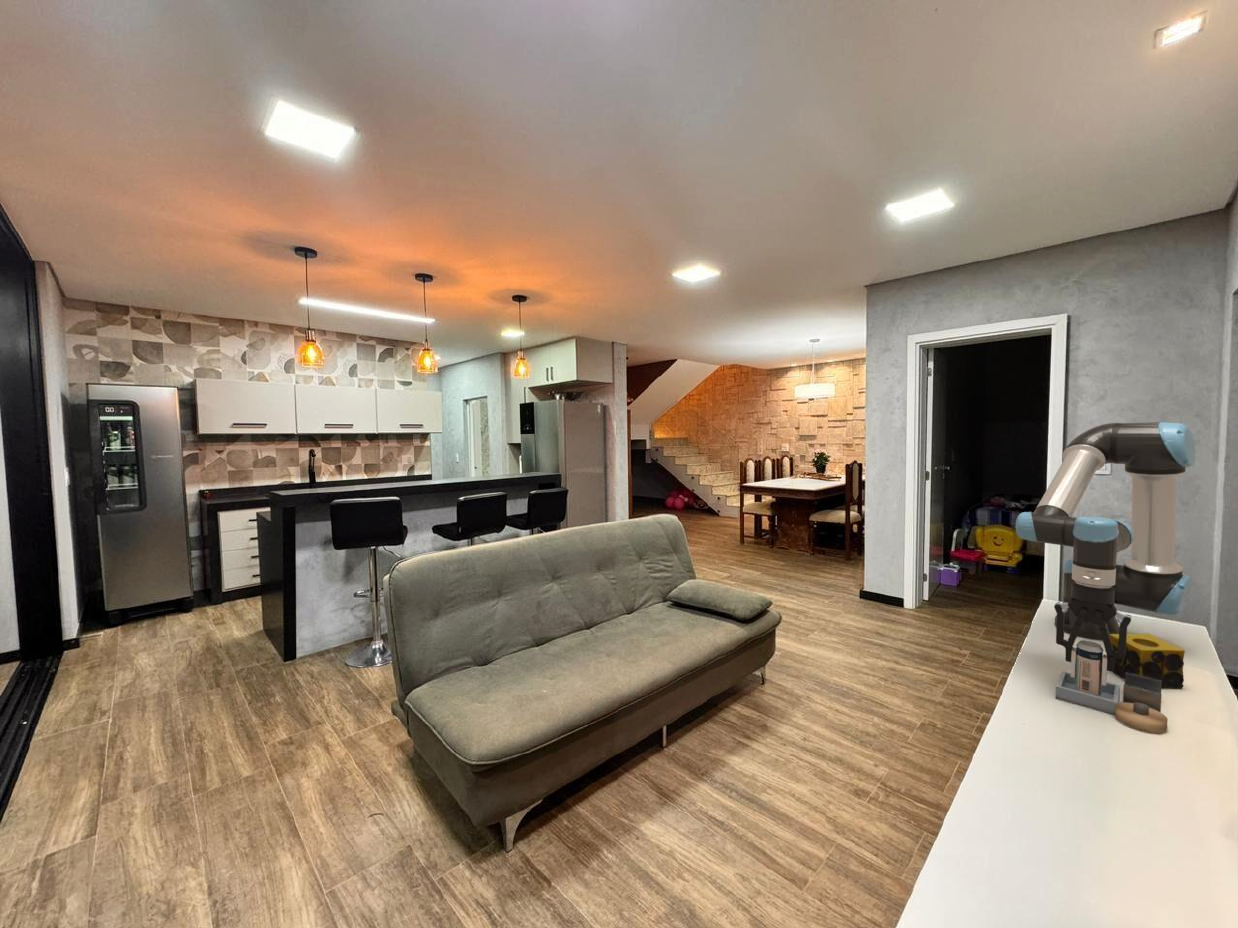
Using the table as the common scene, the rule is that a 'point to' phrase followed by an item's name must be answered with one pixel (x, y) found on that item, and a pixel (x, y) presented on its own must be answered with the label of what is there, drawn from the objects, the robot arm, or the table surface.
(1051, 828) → the table surface
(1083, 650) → the beer can
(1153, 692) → the bracket
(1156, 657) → the yellow holed block
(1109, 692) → the tray
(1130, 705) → the disc
